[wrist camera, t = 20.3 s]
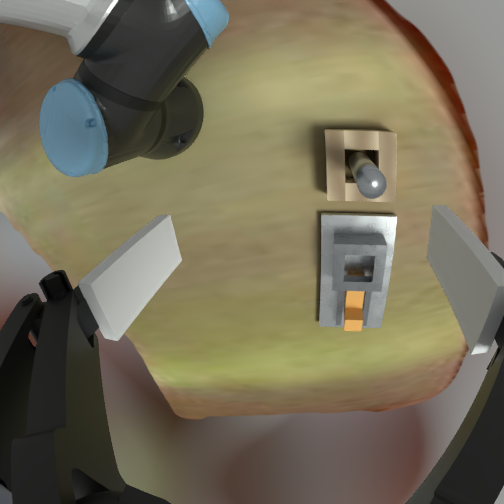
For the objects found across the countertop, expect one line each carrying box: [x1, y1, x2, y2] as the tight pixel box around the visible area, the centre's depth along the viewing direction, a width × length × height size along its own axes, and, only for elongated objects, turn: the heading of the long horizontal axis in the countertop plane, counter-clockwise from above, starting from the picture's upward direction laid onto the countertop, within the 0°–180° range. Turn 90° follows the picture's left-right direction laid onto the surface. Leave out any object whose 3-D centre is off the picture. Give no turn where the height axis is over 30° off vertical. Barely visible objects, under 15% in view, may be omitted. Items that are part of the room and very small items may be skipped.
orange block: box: [344, 274, 365, 331], centre depth 46 cm, size 3×8×5 cm, turn 6°
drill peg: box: [349, 152, 387, 199], centre depth 34 cm, size 3×3×14 cm
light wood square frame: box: [325, 129, 397, 202], centre depth 38 cm, size 10×10×4 cm
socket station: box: [319, 212, 397, 328], centre depth 46 cm, size 12×22×5 cm, turn 6°
